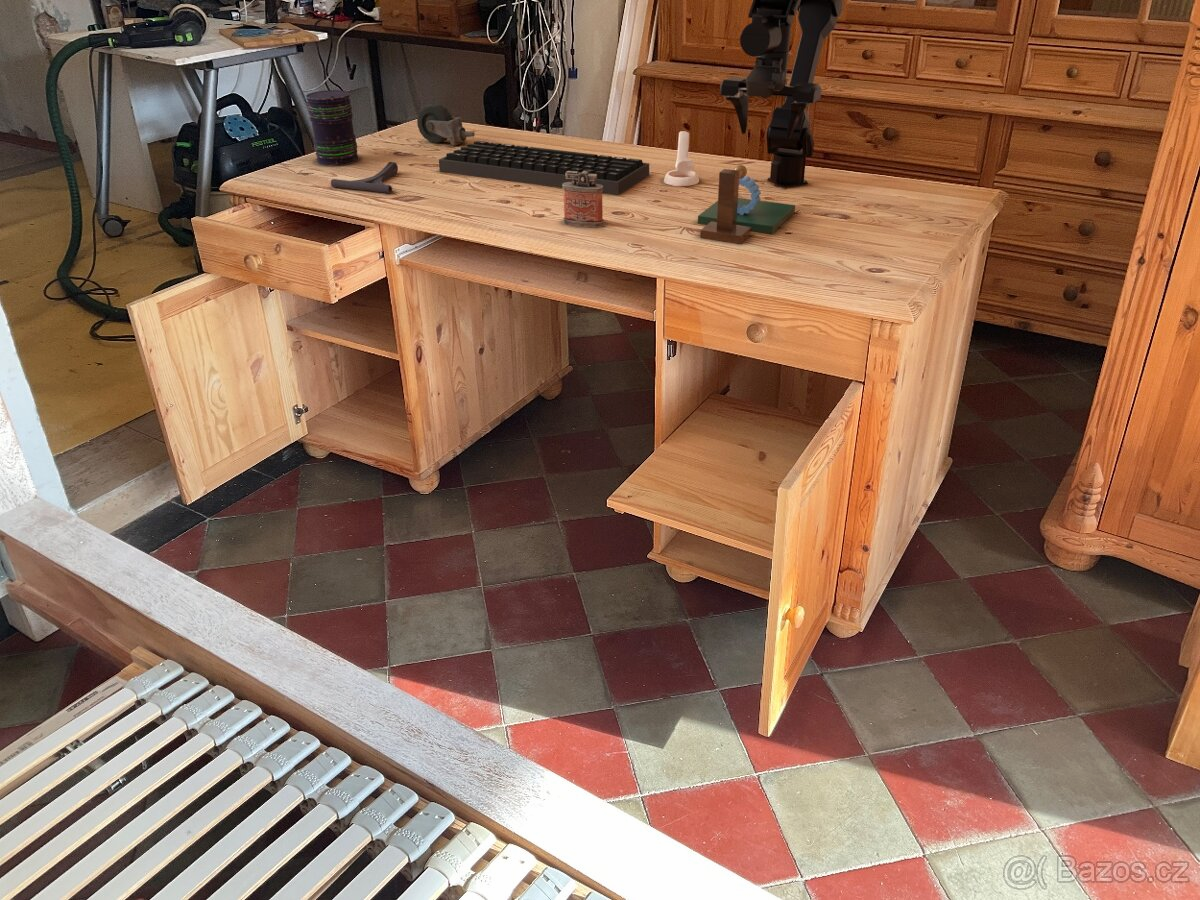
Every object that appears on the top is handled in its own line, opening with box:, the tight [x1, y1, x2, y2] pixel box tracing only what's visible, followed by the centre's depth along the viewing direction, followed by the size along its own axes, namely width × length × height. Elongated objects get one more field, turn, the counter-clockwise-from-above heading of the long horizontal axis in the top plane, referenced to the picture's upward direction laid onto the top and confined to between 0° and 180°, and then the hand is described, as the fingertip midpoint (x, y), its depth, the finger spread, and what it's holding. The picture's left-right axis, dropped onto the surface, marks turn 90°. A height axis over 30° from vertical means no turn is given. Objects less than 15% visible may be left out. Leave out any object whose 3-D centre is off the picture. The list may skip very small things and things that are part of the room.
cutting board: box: [697, 197, 796, 235], centre depth 190 cm, size 14×15×2 cm
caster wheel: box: [416, 103, 476, 147], centre depth 240 cm, size 6×10×15 cm
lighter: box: [561, 171, 605, 228], centre depth 186 cm, size 8×3×10 cm, turn 71°
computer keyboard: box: [438, 140, 650, 196], centre depth 217 cm, size 45×16×4 cm, turn 64°
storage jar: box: [305, 89, 359, 167], centre depth 227 cm, size 10×10×15 cm
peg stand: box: [699, 164, 752, 245], centre depth 180 cm, size 10×8×12 cm
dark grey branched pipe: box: [330, 161, 399, 194], centre depth 214 cm, size 14×15×3 cm
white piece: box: [663, 130, 700, 187], centre depth 212 cm, size 8×12×7 cm
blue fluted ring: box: [737, 175, 762, 215], centre depth 186 cm, size 2×7×7 cm, turn 63°
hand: (765, 135), depth 192 cm, fingers open, 9 cm apart
